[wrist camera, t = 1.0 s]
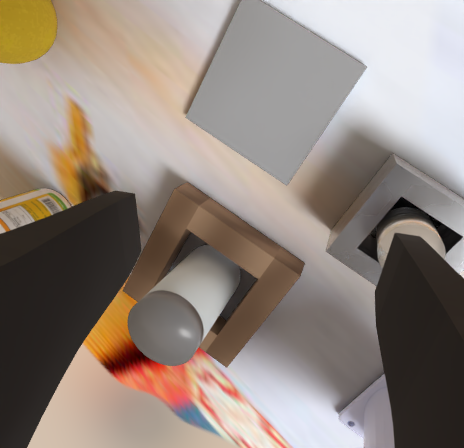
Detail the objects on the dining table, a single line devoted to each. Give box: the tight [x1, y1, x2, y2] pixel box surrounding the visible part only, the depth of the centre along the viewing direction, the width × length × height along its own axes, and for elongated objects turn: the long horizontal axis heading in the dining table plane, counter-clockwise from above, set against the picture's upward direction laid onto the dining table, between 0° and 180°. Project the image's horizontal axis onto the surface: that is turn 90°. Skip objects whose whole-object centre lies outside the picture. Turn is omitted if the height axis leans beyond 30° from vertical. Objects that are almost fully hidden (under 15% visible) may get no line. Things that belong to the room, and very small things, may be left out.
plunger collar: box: [326, 153, 464, 286], centre depth 21 cm, size 6×6×4 cm
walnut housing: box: [123, 182, 305, 367], centre depth 27 cm, size 10×10×2 cm
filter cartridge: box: [128, 245, 241, 366], centre depth 25 cm, size 4×4×8 cm
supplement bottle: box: [0, 188, 71, 234], centre depth 27 cm, size 5×5×10 cm
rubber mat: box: [185, 0, 367, 186], centre depth 22 cm, size 8×8×1 cm
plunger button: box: [376, 207, 446, 268], centre depth 19 cm, size 3×3×3 cm
